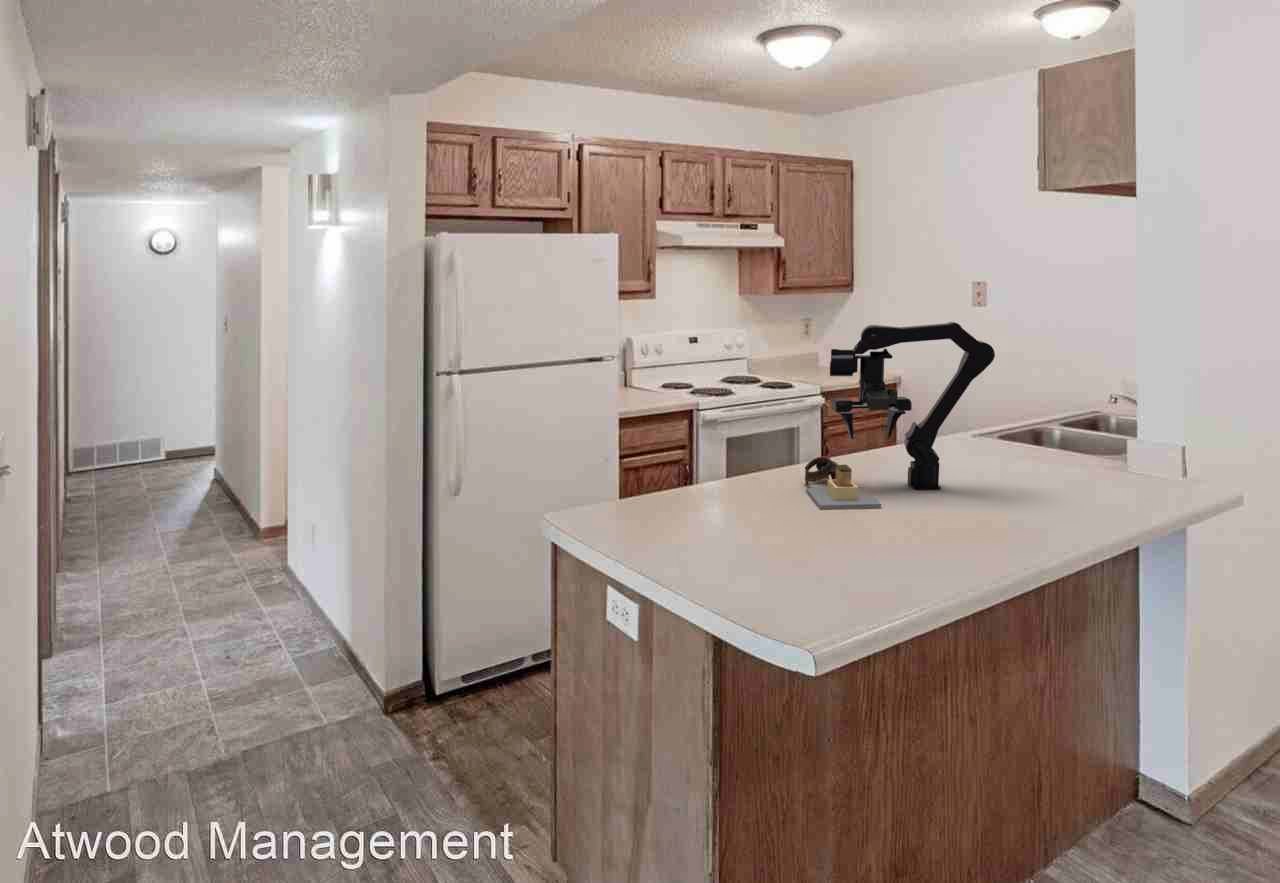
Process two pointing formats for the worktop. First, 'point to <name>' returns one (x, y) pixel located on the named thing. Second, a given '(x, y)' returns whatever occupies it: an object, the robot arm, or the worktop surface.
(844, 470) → the wood topped block
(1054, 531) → the worktop surface
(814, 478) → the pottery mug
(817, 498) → the grey board with socket
